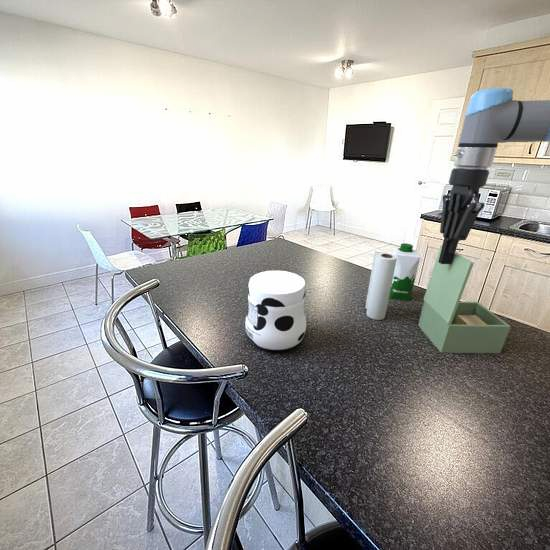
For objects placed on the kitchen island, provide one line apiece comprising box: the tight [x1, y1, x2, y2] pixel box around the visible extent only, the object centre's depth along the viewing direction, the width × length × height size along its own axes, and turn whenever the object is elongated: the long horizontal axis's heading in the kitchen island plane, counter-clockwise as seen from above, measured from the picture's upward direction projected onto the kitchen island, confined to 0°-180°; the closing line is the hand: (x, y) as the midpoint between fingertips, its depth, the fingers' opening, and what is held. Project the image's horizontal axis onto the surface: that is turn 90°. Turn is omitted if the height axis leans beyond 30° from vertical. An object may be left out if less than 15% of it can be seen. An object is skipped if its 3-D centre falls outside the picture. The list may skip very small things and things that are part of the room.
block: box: [455, 315, 487, 325], centre depth 85 cm, size 6×6×6 cm
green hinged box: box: [417, 300, 512, 354], centre depth 85 cm, size 17×14×9 cm
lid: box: [423, 244, 475, 324], centre depth 79 cm, size 17×14×1 cm
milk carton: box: [389, 242, 421, 301], centre depth 106 cm, size 9×9×20 cm
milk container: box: [244, 270, 307, 352], centre depth 81 cm, size 17×17×18 cm
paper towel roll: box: [364, 250, 397, 321], centre depth 94 cm, size 7×6×21 cm
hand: (444, 263), depth 77 cm, fingers closed
